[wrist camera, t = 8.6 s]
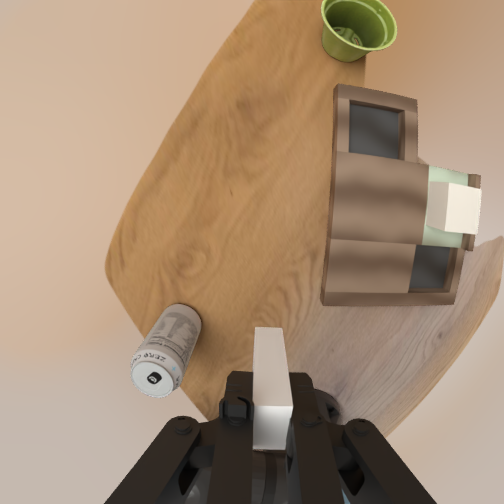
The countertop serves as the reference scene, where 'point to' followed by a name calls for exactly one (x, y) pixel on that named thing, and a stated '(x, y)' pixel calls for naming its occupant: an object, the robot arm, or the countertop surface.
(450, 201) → the block
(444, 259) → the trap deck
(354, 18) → the plant pot
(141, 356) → the energy drink can
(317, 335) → the countertop surface
